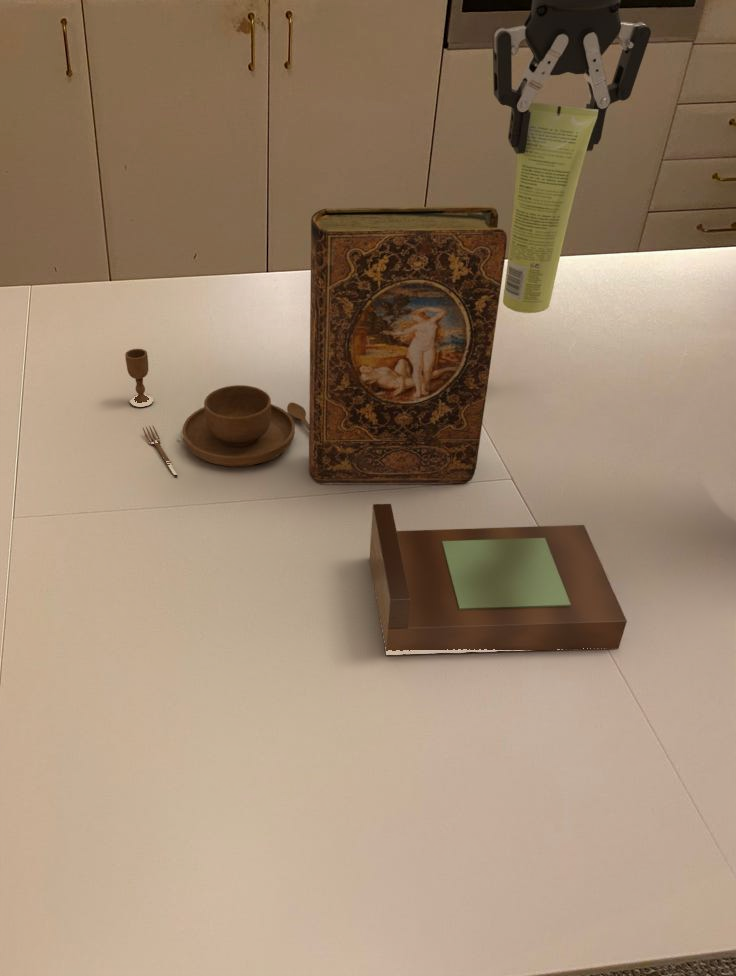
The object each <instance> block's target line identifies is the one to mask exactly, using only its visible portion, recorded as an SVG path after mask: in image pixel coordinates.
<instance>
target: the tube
mask: <svg viewBox="0 0 736 976" xmlns="http://www.w3.org/2000/svg"><path fill="white" fill-rule="evenodd" d="M528 110H529V111H530V112H531V114H530V121H529V128H528V135H527V142H526V149H525V153H524V154H517V158H516V159H517V161H516V175H515V187H514V200H513V207H512V208H513V209H512V219H511V230H510V239H509V247H508V257H507V265H506V274H505V281H504V289H503V296H502V303H503V305H504V307H506V308H507V309H509V310H511V311H513V312H517V313H522V314H537V313H541V312H545V311H546V310H547V309H549V307H550V304H551V300H552V295H553V291H554V287H555V282H556V277H557V272H558V268H559V262H560V258H561V254H562V249H563V245H564V240H565V236H566V233H567V229H568V223H569V219H570V215H571V212H572V207H573V203H574V199H575V195H576V190H577V187H578V183H579V179H580V175H581V171H582V168H583V164H584V161H585V157H586V153H587V151H586V150H587V146H588V143H589V140H590V136H591V133H592V130H593V127H594V125H595V122H596V119H597V116H598V110H595V109H586V108H583V107H575V106H567V105H559V104H549V103H544V102H543V103H542V102H536V101H533V102H532V103H531V105H530V107H529V109H528Z"/></svg>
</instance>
